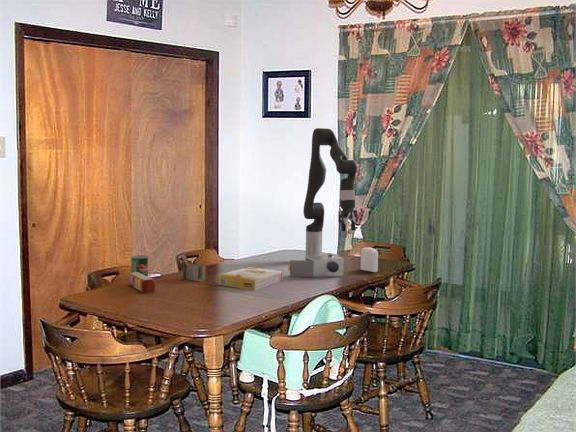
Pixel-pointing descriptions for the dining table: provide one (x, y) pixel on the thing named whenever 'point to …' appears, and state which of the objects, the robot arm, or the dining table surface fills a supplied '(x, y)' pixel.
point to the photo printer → (369, 259)
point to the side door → (301, 268)
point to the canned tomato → (139, 264)
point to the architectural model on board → (193, 272)
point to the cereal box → (250, 278)
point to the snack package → (141, 282)
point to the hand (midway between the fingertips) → (348, 230)
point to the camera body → (326, 265)
